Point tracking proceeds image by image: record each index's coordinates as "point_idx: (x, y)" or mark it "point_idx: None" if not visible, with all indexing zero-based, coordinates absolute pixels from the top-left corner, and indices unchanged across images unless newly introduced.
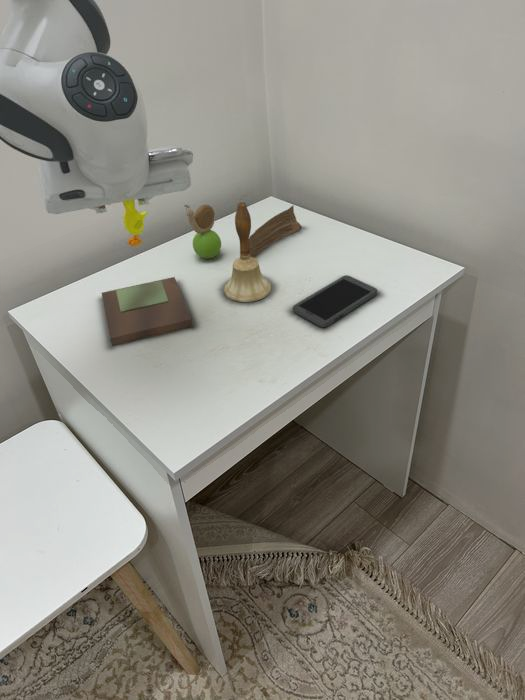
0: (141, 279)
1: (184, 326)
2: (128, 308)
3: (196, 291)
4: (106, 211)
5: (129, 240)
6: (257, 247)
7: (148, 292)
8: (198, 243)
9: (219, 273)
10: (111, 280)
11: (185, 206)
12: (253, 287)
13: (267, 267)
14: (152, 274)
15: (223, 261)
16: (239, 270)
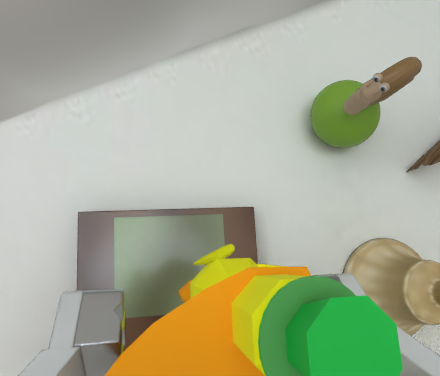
0: (177, 160)
1: None
2: (134, 311)
3: (286, 256)
4: (125, 335)
5: (188, 295)
6: (432, 148)
7: (188, 256)
8: (332, 126)
9: (341, 202)
10: (109, 137)
11: (375, 82)
12: (411, 327)
13: (433, 217)
14: (204, 149)
15: (355, 158)
16: (414, 316)
